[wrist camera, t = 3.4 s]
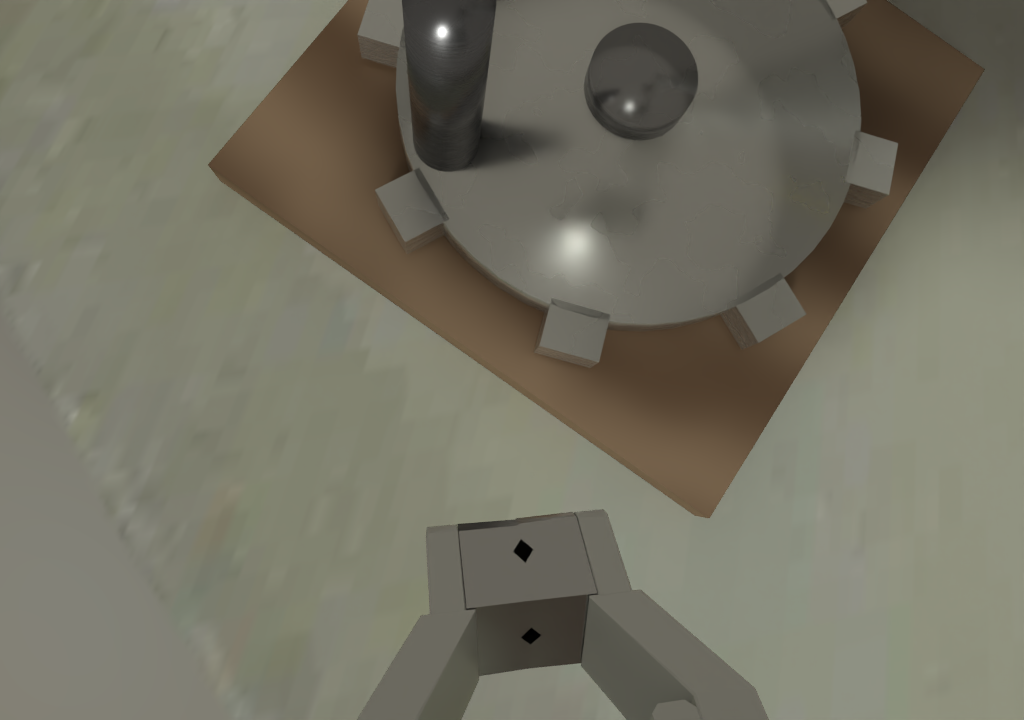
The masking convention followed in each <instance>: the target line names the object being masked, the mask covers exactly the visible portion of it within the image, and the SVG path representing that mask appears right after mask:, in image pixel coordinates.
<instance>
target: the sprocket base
mask: <svg viewBox="0 0 1024 720" xmlns="http://www.w3.org/2000/svg"><path fill="white" fill-rule="evenodd" d="M368 1H369V0H348V1H347V3H346V4H345V5H344V6H343V7H342V8H341V10H340V11H339V12H338V13H337V14H336V15H335V17H334V18H333V19H332V20H331V21H330V22H329V24H328V25H327V26H326V27H325V28H324V29H323V31H322V32H321V33H320V34H319V35H318V37H317V38H316V39H315V40H314V41H313V42H312V44H311V45H310V46H309V47H308V48H307V49H306V51H305V52H304V53H303V54H302V55H301V56H300V58H299V59H298V60H297V61H296V62H295V63H294V65H293V66H292V67H291V68H290V69H289V71H288V72H287V73H286V74H285V75H284V76H283V78H282V79H281V80H280V81H279V82H278V83H277V85H276V86H275V87H274V88H273V89H272V90H271V92H270V93H269V94H268V95H267V96H266V97H265V99H264V100H263V101H262V102H261V103H260V105H259V106H258V107H257V108H256V109H255V110H254V112H253V113H252V114H251V115H250V116H249V117H248V119H247V120H246V121H245V122H244V123H243V124H242V126H241V127H240V128H239V129H238V130H237V131H236V133H235V134H234V135H233V136H232V137H231V139H230V140H229V141H228V142H227V143H226V144H225V146H224V147H223V148H222V149H221V150H220V151H219V153H218V154H217V155H216V156H215V157H214V158H213V160H212V161H211V162H210V163H209V164H208V165H209V167H210V168H211V169H212V171H213V172H214V173H215V175H216V176H217V177H218V178H219V180H220V181H221V182H223V183H224V184H226V185H227V186H228V187H230V188H231V189H233V190H234V191H236V192H237V193H238V194H240V195H241V196H243V197H244V198H245V199H247V200H248V201H250V202H251V203H253V204H254V205H255V206H257V207H258V208H260V209H261V210H262V211H264V212H265V213H267V214H268V215H270V216H271V217H272V218H274V219H275V220H277V221H278V222H279V223H281V224H282V225H284V226H285V227H287V228H288V229H289V230H291V231H292V232H294V233H295V234H297V235H298V236H299V237H301V238H302V239H304V240H305V241H306V242H308V243H309V244H311V245H312V246H314V247H315V248H316V249H318V250H319V251H321V252H322V253H323V254H325V255H326V256H328V257H329V258H331V259H332V260H333V261H335V262H336V263H338V264H339V265H340V266H342V267H343V268H345V269H346V270H348V271H349V272H350V273H352V274H353V275H355V276H356V277H357V278H359V279H360V280H362V281H363V282H365V283H366V284H367V285H369V286H370V287H372V288H373V289H374V290H376V291H377V292H379V293H380V294H382V295H383V296H384V297H386V298H387V299H389V300H390V301H391V302H393V303H394V304H396V305H397V306H399V307H400V308H401V309H403V310H404V311H406V312H407V313H409V314H410V315H411V316H413V317H414V318H416V319H417V320H418V321H420V322H421V323H423V324H424V325H426V326H427V327H428V328H430V329H431V330H433V331H434V332H435V333H437V334H438V335H440V336H441V337H443V338H444V339H445V340H447V341H448V342H450V343H451V344H452V345H454V346H455V347H457V348H458V349H460V350H461V351H462V352H464V353H465V354H467V355H468V356H469V357H471V358H472V359H474V360H475V361H477V362H478V363H479V364H481V365H482V366H484V367H485V368H486V369H488V370H489V371H491V372H492V373H494V374H495V375H496V376H498V377H499V378H501V379H502V380H504V381H505V382H506V383H508V384H509V385H511V386H512V387H513V388H515V389H516V390H518V391H519V392H521V393H522V394H523V395H525V396H526V397H528V398H529V399H530V400H532V401H533V402H535V403H536V404H538V405H539V406H540V407H542V408H543V409H545V410H546V411H547V412H549V413H550V414H552V415H553V416H555V417H556V418H557V419H559V420H560V421H562V422H563V423H564V424H566V425H567V426H569V427H570V428H572V429H573V430H574V431H576V432H577V433H579V434H580V435H581V436H583V437H584V438H586V439H587V440H589V441H590V442H591V443H593V444H594V445H596V446H597V447H598V448H600V449H601V450H603V451H604V452H606V453H607V454H608V455H610V456H611V457H613V458H614V459H616V460H617V461H618V462H620V463H621V464H623V465H624V466H625V467H627V468H628V469H630V470H631V471H633V472H634V473H635V474H637V475H638V476H640V477H641V478H642V479H644V480H645V481H647V482H648V483H650V484H651V485H652V486H654V487H655V488H657V489H658V490H659V491H661V492H662V493H664V494H665V495H667V496H668V497H669V498H671V499H672V500H674V501H675V502H676V503H678V504H679V505H681V506H682V507H684V508H685V509H686V510H688V511H689V512H691V513H692V514H693V515H695V516H700V517H705V518H710V516H711V515H712V513H713V511H714V510H715V508H716V506H717V505H718V503H719V502H720V500H721V498H722V497H723V495H724V493H725V492H726V490H727V489H728V487H729V485H730V484H731V482H732V480H733V479H734V477H735V475H736V474H737V472H738V471H739V469H740V467H741V466H742V464H743V462H744V461H745V459H746V458H747V456H748V454H749V453H750V451H751V449H752V448H753V446H754V445H755V443H756V441H757V440H758V438H759V436H760V435H761V433H762V432H763V430H764V428H765V427H766V425H767V423H768V422H769V420H770V418H771V417H772V415H773V414H774V412H775V410H776V409H777V407H778V405H779V404H780V402H781V401H782V399H783V397H784V396H785V394H786V392H787V391H788V389H789V388H790V386H791V384H792V383H793V381H794V379H795V378H796V376H797V375H798V373H799V371H800V370H801V368H802V366H803V365H804V363H805V361H806V360H807V358H808V357H809V355H810V353H811V352H812V350H813V348H814V347H815V345H816V344H817V342H818V340H819V339H820V337H821V335H822V334H823V332H824V331H825V329H826V327H827V326H828V324H829V322H830V321H831V319H832V318H833V316H834V314H835V313H836V311H837V309H838V308H839V306H840V304H841V303H842V301H843V300H844V298H845V296H846V295H847V293H848V291H849V290H850V288H851V287H852V285H853V283H854V282H855V280H856V278H857V277H858V275H859V274H860V272H861V270H862V269H863V267H864V265H865V264H866V262H867V261H868V259H869V257H870V256H871V254H872V252H873V251H874V249H875V247H876V246H877V244H878V243H879V241H880V239H881V238H882V236H883V234H884V233H885V231H886V230H887V228H888V226H889V225H890V223H891V221H892V220H893V218H894V217H895V215H896V213H897V212H898V210H899V208H900V207H901V205H902V204H903V202H904V200H905V199H906V197H907V195H908V194H909V192H910V190H911V189H912V187H913V186H914V184H915V182H916V181H917V179H918V177H919V176H920V174H921V173H922V171H923V169H924V168H925V166H926V164H927V163H928V161H929V160H930V158H931V156H932V155H933V153H934V151H935V150H936V148H937V147H938V145H939V143H940V142H941V140H942V138H943V137H944V135H945V133H946V132H947V130H948V129H949V127H950V125H951V124H952V122H953V120H954V119H955V117H956V116H957V114H958V112H959V111H960V109H961V107H962V106H963V104H964V103H965V101H966V99H967V98H968V96H969V94H970V93H971V91H972V90H973V88H974V86H975V85H976V83H977V81H978V80H979V78H980V76H981V75H982V73H983V72H984V70H985V69H984V68H982V67H981V66H979V65H978V64H976V63H975V62H974V61H972V60H971V59H969V58H968V57H966V56H965V55H964V54H962V53H961V52H959V51H958V50H956V49H955V48H954V47H952V46H951V45H949V44H948V43H946V42H945V41H944V40H942V39H941V38H939V37H938V36H937V35H935V34H934V33H932V32H931V31H929V30H928V29H927V28H925V27H924V26H922V25H921V24H919V23H918V22H917V21H915V20H914V19H912V18H911V17H909V16H908V15H907V14H905V13H904V12H902V11H901V10H899V9H898V8H897V7H895V6H894V5H892V4H891V3H890V2H888V1H887V0H866V1H867V2H868V3H867V4H866V5H865V6H864V7H863V8H862V9H861V10H860V11H859V12H858V13H857V15H856V16H855V17H854V18H853V19H852V20H851V21H850V22H849V23H848V24H847V25H846V26H844V27H842V28H841V29H842V31H843V33H844V36H845V38H846V41H847V44H848V47H849V50H850V53H851V56H852V59H853V62H854V66H855V71H856V76H857V82H858V87H859V92H860V108H861V131H860V132H863V133H866V134H870V135H873V136H876V137H879V138H883V139H886V140H889V141H893V142H896V143H898V148H897V153H896V159H895V165H894V170H893V176H892V181H891V187H890V192H889V195H888V196H886V197H885V198H883V199H881V200H880V201H878V202H876V203H875V204H873V205H871V206H870V207H868V208H866V209H865V208H862V207H859V206H855V205H852V204H849V203H845V202H844V203H843V205H842V206H841V208H840V210H839V212H838V214H837V216H836V218H835V219H834V221H833V223H832V225H831V227H830V228H829V230H828V231H827V232H826V234H825V235H824V237H823V238H822V239H821V241H820V242H819V243H818V245H817V246H816V247H815V249H814V250H813V251H812V252H811V253H810V254H809V255H808V256H807V257H806V258H805V259H804V260H803V261H802V262H801V263H800V264H799V265H798V266H797V267H796V268H795V269H794V270H793V271H792V272H791V273H789V274H788V275H787V276H785V277H784V279H785V280H786V282H787V284H788V285H789V287H790V288H791V290H792V292H793V293H794V295H795V296H796V298H797V300H798V301H799V303H800V305H801V306H802V308H803V309H804V311H805V313H806V315H805V316H803V317H801V318H800V319H798V320H796V321H795V322H793V323H791V324H790V325H788V326H786V327H785V328H783V329H781V330H780V331H778V332H776V333H775V334H773V335H771V336H770V337H768V338H766V339H765V340H763V341H761V342H760V343H757V344H755V345H752V346H750V347H747V348H744V349H741V348H740V346H739V345H738V343H737V341H736V340H735V338H734V336H733V335H732V333H731V331H730V330H729V328H728V327H727V325H726V323H725V322H724V320H723V318H722V317H721V315H717V316H715V317H712V318H709V319H707V320H704V321H702V322H698V323H694V324H689V325H685V326H681V327H677V328H672V329H662V330H652V331H618V330H607V331H606V335H605V340H604V344H603V348H602V352H601V356H600V360H599V363H597V364H596V365H594V366H593V367H591V368H588V367H584V366H581V365H577V364H574V363H570V362H566V361H563V360H559V359H556V358H552V357H549V356H545V355H541V354H538V353H534V350H535V346H536V342H537V339H538V335H539V331H540V327H541V323H542V319H543V316H544V312H542V311H540V310H537V309H535V308H533V307H531V306H528V305H526V304H524V303H522V302H521V301H519V300H517V299H516V298H514V297H513V296H511V295H509V294H508V293H506V292H504V291H503V290H501V289H499V288H498V287H496V286H495V285H494V284H493V283H491V282H490V281H489V280H488V279H486V278H485V277H484V276H483V275H482V274H480V273H479V272H478V271H477V270H475V269H474V268H473V267H472V266H471V265H470V264H469V263H468V262H467V261H466V260H465V259H464V258H463V257H462V256H461V255H460V254H459V253H458V252H457V251H456V249H455V248H454V247H453V246H452V245H451V244H450V243H449V241H448V240H447V239H446V237H445V236H442V237H440V238H438V239H436V240H434V241H432V242H430V243H428V244H426V245H424V246H423V247H421V248H419V249H417V250H415V251H413V252H411V253H409V254H406V252H405V250H404V249H403V247H402V245H401V243H400V242H399V240H398V238H397V236H396V235H395V233H394V231H393V229H392V228H391V226H390V224H389V222H388V221H387V219H386V217H385V216H384V214H383V212H382V210H381V209H380V207H379V205H378V201H377V197H376V192H375V189H377V188H379V187H381V186H383V185H385V184H387V183H389V182H391V181H393V180H395V179H397V178H399V177H401V176H403V175H405V174H407V173H409V172H410V171H409V168H408V166H407V161H406V157H405V153H404V149H403V145H402V141H401V135H400V127H399V118H398V107H397V97H396V71H397V68H394V67H391V66H388V65H384V64H381V63H378V62H374V61H371V60H368V59H364V58H362V56H361V51H360V46H359V40H358V35H357V34H358V31H359V28H360V25H361V22H362V19H363V16H364V13H365V10H366V7H367V4H368Z"/></svg>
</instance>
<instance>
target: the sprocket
mask: <svg viewBox="0 0 1024 720" xmlns="http://www.w3.org/2000/svg"><path fill="white" fill-rule="evenodd" d="M867 3H868V2H867V1H866V0H369V1H368V4H367V7H366V10H365V13H364V16H363V19H362V22H361V25H360V28H359V31H358V34H357V35H358V40H359V46H360V51H361V56H362V58H364V59H368V60H371V61H374V62H378V63H381V64H384V65H388V66H391V67H394V68H397V71H396V97H397V107H398V118H399V127H400V135H401V141H402V145H403V149H404V153H405V157H406V161H407V166H408V168H409V171H410V172H409V173H407V174H405V175H403V176H401V177H399V178H397V179H395V180H393V181H391V182H389V183H387V184H385V185H383V186H381V187H379V188H377V189H375V192H376V197H377V201H378V205H379V207H380V209H381V210H382V212H383V214H384V216H385V217H386V219H387V221H388V222H389V224H390V226H391V228H392V229H393V231H394V233H395V235H396V236H397V238H398V240H399V242H400V243H401V245H402V247H403V249H404V250H405V252H406V254H409V253H411V252H413V251H415V250H417V249H419V248H421V247H423V246H424V245H426V244H428V243H430V242H432V241H434V240H436V239H438V238H440V237H442V236H445V237H446V239H447V240H448V241H449V243H450V244H451V245H452V246H453V247H454V248H455V249H456V251H457V252H458V253H459V254H460V255H461V256H462V257H463V258H464V259H465V260H466V261H467V262H468V263H469V264H470V265H471V266H472V267H473V268H474V269H475V270H477V271H478V272H479V273H480V274H482V275H483V276H484V277H485V278H486V279H488V280H489V281H490V282H491V283H493V284H494V285H495V286H496V287H498V288H499V289H501V290H503V291H504V292H506V293H508V294H509V295H511V296H513V297H514V298H516V299H517V300H519V301H521V302H522V303H524V304H526V305H528V306H531V307H533V308H535V309H537V310H540V311H542V312H544V316H543V319H542V323H541V327H540V331H539V335H538V339H537V342H536V346H535V350H534V353H538V354H541V355H545V356H549V357H552V358H556V359H559V360H563V361H566V362H570V363H574V364H577V365H581V366H584V367H588V368H591V367H593V366H594V365H596V364H597V363H599V360H600V356H601V352H602V348H603V344H604V340H605V335H606V331H607V330H618V331H652V330H662V329H672V328H677V327H681V326H685V325H689V324H694V323H698V322H702V321H704V320H707V319H709V318H712V317H715V316H717V315H721V317H722V318H723V320H724V322H725V323H726V325H727V327H728V328H729V330H730V331H731V333H732V335H733V336H734V338H735V340H736V341H737V343H738V345H739V346H740V348H741V349H744V348H747V347H750V346H752V345H755V344H757V343H760V342H761V341H763V340H765V339H766V338H768V337H770V336H771V335H773V334H775V333H776V332H778V331H780V330H781V329H783V328H785V327H786V326H788V325H790V324H791V323H793V322H795V321H796V320H798V319H800V318H801V317H803V316H805V315H806V313H805V311H804V309H803V308H802V306H801V305H800V303H799V301H798V300H797V298H796V296H795V295H794V293H793V292H792V290H791V288H790V287H789V285H788V284H787V282H786V280H785V279H784V277H785V276H787V275H788V274H789V273H791V272H792V271H793V270H794V269H795V268H796V267H797V266H798V265H799V264H800V263H801V262H802V261H803V260H804V259H805V258H806V257H807V256H808V255H809V254H810V253H811V252H812V251H813V250H814V249H815V247H816V246H817V245H818V243H819V242H820V241H821V239H822V238H823V237H824V235H825V234H826V232H827V231H828V230H829V228H830V227H831V225H832V223H833V221H834V219H835V218H836V216H837V214H838V212H839V210H840V208H841V206H842V205H843V203H844V202H845V203H849V204H852V205H855V206H859V207H862V208H865V209H866V208H868V207H870V206H871V205H873V204H875V203H876V202H878V201H880V200H881V199H883V198H885V197H886V196H888V195H889V192H890V187H891V181H892V176H893V170H894V165H895V159H896V153H897V148H898V143H896V142H893V141H889V140H886V139H883V138H879V137H876V136H873V135H870V134H866V133H863V132H860V131H861V108H860V92H859V87H858V82H857V76H856V71H855V66H854V62H853V59H852V56H851V53H850V50H849V47H848V44H847V41H846V38H845V36H844V33H843V31H842V29H841V28H842V27H844V26H846V25H847V24H848V23H849V22H850V21H851V20H852V19H853V18H854V17H855V16H856V15H857V13H858V12H859V11H860V10H861V9H862V8H863V7H864V6H865V5H866V4H867Z"/></svg>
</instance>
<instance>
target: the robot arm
mask: <svg viewBox="0 0 1024 720" xmlns="http://www.w3.org/2000/svg"><path fill="white" fill-rule="evenodd" d="M426 548H427V567H428V587H429V606H430V614H428V615H421V616H420V618H419V619H418V621H417V623H416V624H415V626H414V628H413V629H412V631H411V632H410V634H409V636H408V637H407V639H406V641H405V642H404V644H403V645H402V647H401V649H400V650H399V652H398V654H397V655H396V657H395V658H394V660H393V662H392V663H391V665H390V667H389V668H388V670H387V671H386V673H385V675H384V676H383V678H382V680H381V681H380V683H379V684H378V686H377V688H376V689H375V691H374V693H373V694H372V696H371V697H370V699H369V701H368V702H367V704H366V706H365V707H364V709H363V710H362V712H361V714H360V715H359V717H358V719H357V720H461V719H462V717H463V715H464V712H465V710H466V708H467V706H468V703H469V701H470V699H471V697H472V694H473V692H474V690H475V688H476V685H477V683H478V681H479V676H483V675H490V674H496V673H502V672H509V671H515V670H522V669H528V668H537V667H547V666H557V665H567V664H577V663H581V666H582V667H583V669H584V670H585V671H586V672H587V673H588V674H589V676H590V677H591V678H592V679H593V680H594V682H595V683H596V684H597V685H598V686H599V687H600V689H601V690H602V691H603V692H604V693H605V694H606V696H607V697H608V698H609V699H610V700H611V702H612V703H613V704H614V705H615V706H616V707H617V709H618V710H619V711H620V712H621V713H622V714H623V716H624V717H625V718H626V719H627V720H769V719H768V717H767V714H766V712H765V710H764V707H763V705H762V703H761V700H760V698H759V696H758V693H757V691H756V689H755V688H754V687H753V686H752V685H751V684H750V683H749V682H747V681H746V680H745V679H744V678H743V677H742V676H740V675H739V674H738V673H737V672H736V671H735V670H734V669H732V668H731V667H730V666H729V665H728V664H727V663H725V662H724V661H723V660H722V659H721V658H720V657H718V656H717V655H716V654H715V653H714V652H713V651H711V650H710V649H709V648H708V647H707V646H706V645H704V644H703V643H702V642H701V641H700V640H699V639H698V638H696V637H695V636H694V635H693V634H692V633H691V632H689V631H688V630H687V629H686V628H685V627H684V626H682V625H681V624H680V623H679V622H678V621H677V620H675V619H674V618H673V617H672V616H671V615H670V614H668V613H667V612H666V611H665V610H664V609H663V608H661V607H660V606H659V605H658V604H657V603H656V602H655V601H653V600H652V599H651V598H650V597H649V596H648V595H646V594H645V593H644V592H643V591H642V590H632V588H631V585H630V582H629V579H628V576H627V573H626V570H625V567H624V564H623V561H622V558H621V554H620V551H619V548H618V545H617V542H616V539H615V536H614V533H613V530H612V527H611V524H610V521H609V517H608V514H607V513H606V512H605V511H604V509H602V510H592V511H582V512H575V513H573V512H568V513H559V514H551V515H542V516H534V517H525V518H517V519H516V520H505V521H492V522H479V523H466V524H458V529H457V524H456V525H444V526H433V527H427V530H426Z"/></svg>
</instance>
